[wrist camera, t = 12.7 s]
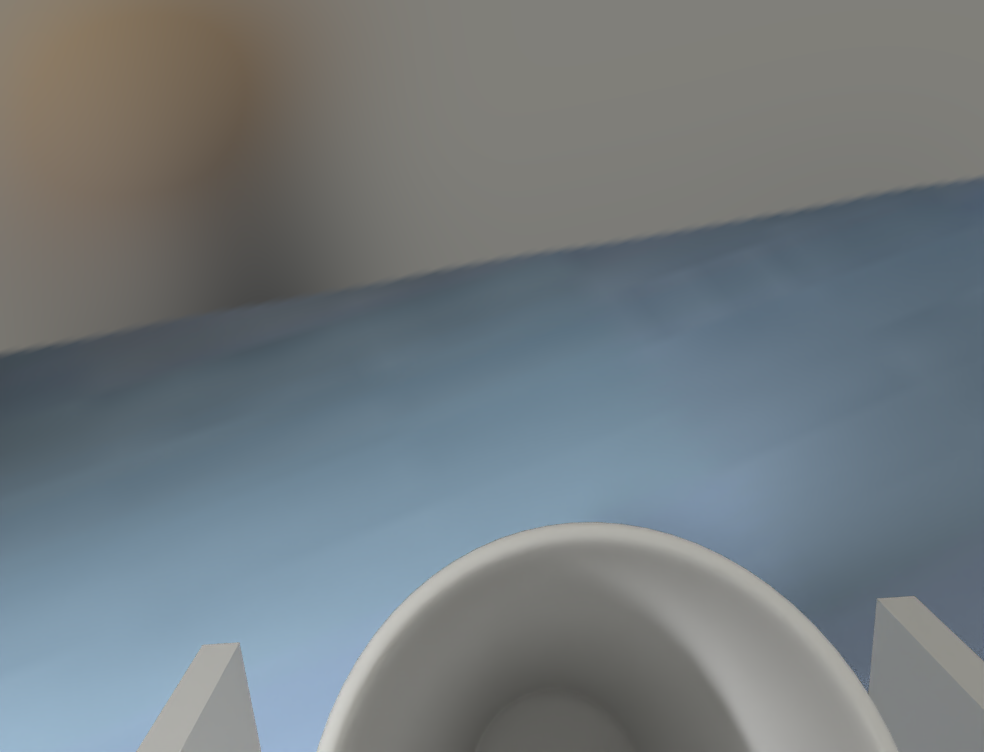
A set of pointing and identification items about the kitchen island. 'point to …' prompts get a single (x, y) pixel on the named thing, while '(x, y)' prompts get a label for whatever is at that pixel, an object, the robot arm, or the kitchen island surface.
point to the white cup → (600, 657)
